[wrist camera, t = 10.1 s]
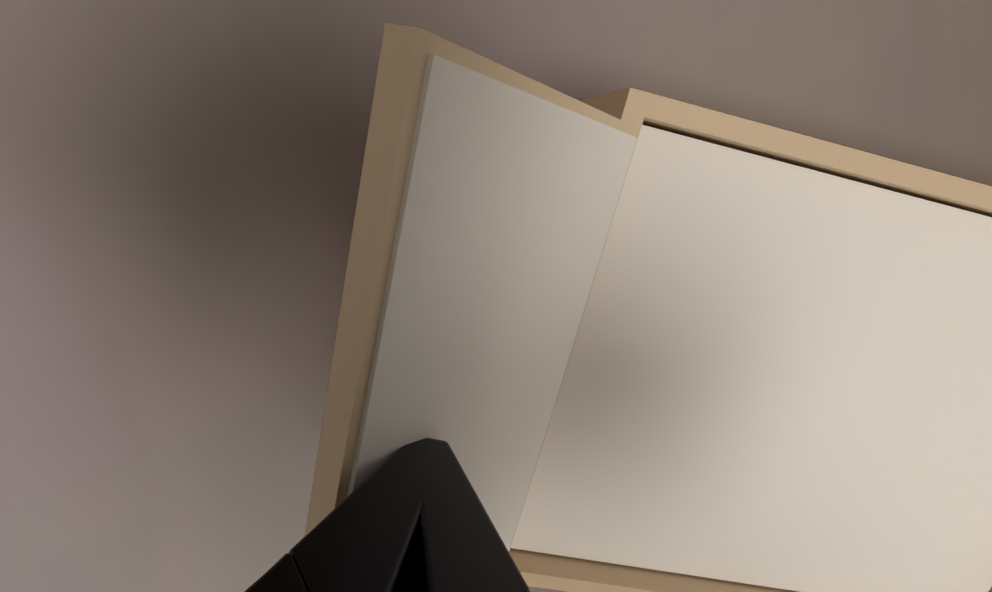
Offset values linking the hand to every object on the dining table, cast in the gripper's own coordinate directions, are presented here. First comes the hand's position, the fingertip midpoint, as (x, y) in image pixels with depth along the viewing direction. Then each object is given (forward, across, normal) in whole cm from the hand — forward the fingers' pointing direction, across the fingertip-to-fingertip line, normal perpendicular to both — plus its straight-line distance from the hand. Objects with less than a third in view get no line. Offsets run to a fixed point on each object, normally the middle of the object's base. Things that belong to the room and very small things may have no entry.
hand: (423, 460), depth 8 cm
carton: (+11, -12, 0) cm, 16 cm away
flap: (+1, -1, 0) cm, 2 cm away
